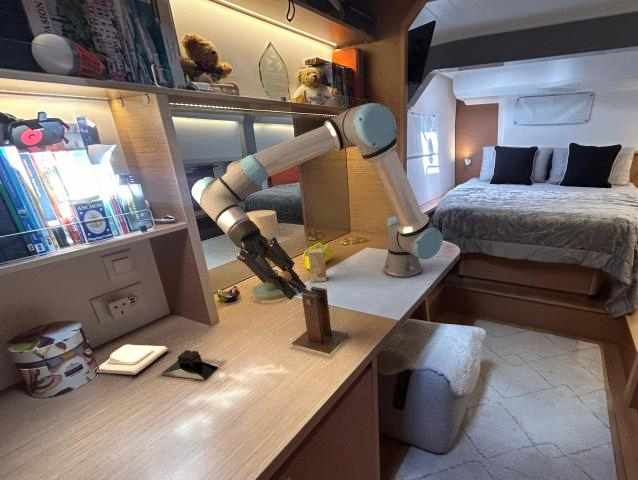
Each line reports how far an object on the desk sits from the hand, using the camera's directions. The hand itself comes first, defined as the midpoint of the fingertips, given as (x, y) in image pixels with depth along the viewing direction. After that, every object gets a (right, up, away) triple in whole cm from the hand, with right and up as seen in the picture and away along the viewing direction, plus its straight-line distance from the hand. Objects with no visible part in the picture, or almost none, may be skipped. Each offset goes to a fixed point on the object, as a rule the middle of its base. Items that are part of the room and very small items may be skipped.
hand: (298, 293), depth 90 cm
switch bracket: (+5, -14, +4) cm, 15 cm away
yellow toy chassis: (-5, +11, +62) cm, 63 cm away
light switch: (-44, -18, -1) cm, 47 cm away
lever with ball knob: (0, 0, 0) cm, 0 cm away
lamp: (-17, -2, +34) cm, 38 cm away
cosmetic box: (-2, +4, +45) cm, 46 cm away
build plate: (-26, -19, -5) cm, 32 cm away
